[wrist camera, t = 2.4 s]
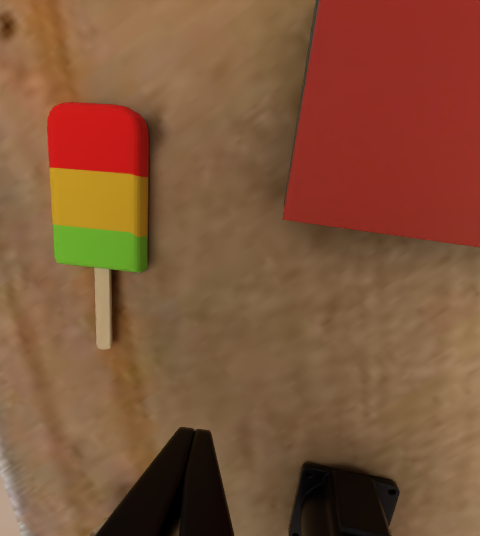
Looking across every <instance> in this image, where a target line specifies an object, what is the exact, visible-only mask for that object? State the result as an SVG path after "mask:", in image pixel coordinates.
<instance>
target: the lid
mask: <svg viewBox="0 0 480 536" xmlns="http://www.w3.org/2000/svg"><path fill="white" fill-rule="evenodd" d="M283 220H289V221H296V222H303V223H310V224H318V225H325V226H332V227H339V228H346V229H353V230H360V231H367V232H375V233H382V234H389V235H396V236H403V237H410V238H417V239H424V240H432V241H439V242H446V243H453V244H460V245H467V246H474V247H480V0H319V3H318V9H317V15H316V21H315V27H314V33H313V39H312V45H311V51H310V57H309V63H308V69H307V75H306V81H305V87H304V93H303V99H302V104H301V110H300V116H299V122H298V128H297V134H296V140H295V146H294V152H293V158H292V164H291V170H290V176H289V182H288V188H287V194H286V200H285V206H284V213H283Z"/></svg>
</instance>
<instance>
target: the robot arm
mask: <svg viewBox="0 0 480 536" xmlns="http://www.w3.org/2000/svg"><path fill="white" fill-rule="evenodd" d="M307 471H310V473H308V472H307ZM389 489H391V490H389ZM398 496H399V489H398V486H397V484H396V483H395V482H393V481H390V480H385V479H381V478H376V477H371V476H366V475H361V474H357V473H352V472H347V471H342V470H338V469H333V468H328V467H323V466H319V465H314V464H304V465H303V466H302V468H301V472H300V477H299V482H298V487H297V491H296V496H295V501H294V506H293V510H292V515H291V520H290V524H289V536H392V535H391V532H390V529H389V525H390V522H391V519H392V515H393V512H394V509H395V506H396V502H397V499H398ZM178 535H179V536H234V532H233V528H232V523H231V519H230V514H229V510H228V505H227V501H226V497H225V492H224V488H223V483H222V479H221V474H220V470H219V465H218V461H217V457H216V452H215V448H214V443H213V439H212V434H211V432H210V431H209V430H203V429H197V430H194V429H193V428H186V427H180V428H179V429H178V430H177V431H176V432H175V434H174V435H173V436H172V438H171V439H170V440H169V441H168V443H167V444H166V445H165V447H164V448H163V449H162V450H161V452H160V453H159V454H158V455H157V457H156V458H155V459H154V461H153V462H152V463H151V464H150V466H149V467H148V468H147V469H146V471H145V472H144V473H143V475H142V476H141V477H140V478H139V480H138V481H137V482H136V484H135V485H134V486H133V487H132V489H131V490H130V491H129V492H128V494H127V495H126V496H125V498H124V499H123V500H122V501H121V503H120V504H119V505H118V507H117V508H116V509H115V510H114V512H113V513H112V514H111V515H110V517H109V518H108V519H107V521H106V522H105V523H104V524H103V526H102V527H101V528H100V530H99V531H98V532H97V533H96V535H95V536H178Z"/></svg>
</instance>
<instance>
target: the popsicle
mask: <svg viewBox="0 0 480 536" xmlns="http://www.w3.org/2000/svg"><path fill="white" fill-rule="evenodd" d="M47 134H48V152H49V169H50V186H51V204H52V221H53V238H54V255H55V260H56V262H58V263H61V264H68V265H77V266H86V267H94V271H95V306H96V342H97V346H98V348H100V349H104V350H107V349H109V348H110V347H111V346H112V295H111V269H113V270H121V271H130V272H139V273H140V272H143V271H145V270H146V269H147V248H148V159H149V137H148V128H147V125H146V122H145V120H144V119H143V118H142V117H141V116H140V115H139V114H138V113H136V112H135V111H133V110H131V109H129V108H127V107H124V106H119V105H112V104H94V103H76V102H69V103H61V104H59V105H57V106H54V107H53V109H52V110H51V111H50V113H49V116H48V122H47Z"/></svg>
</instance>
